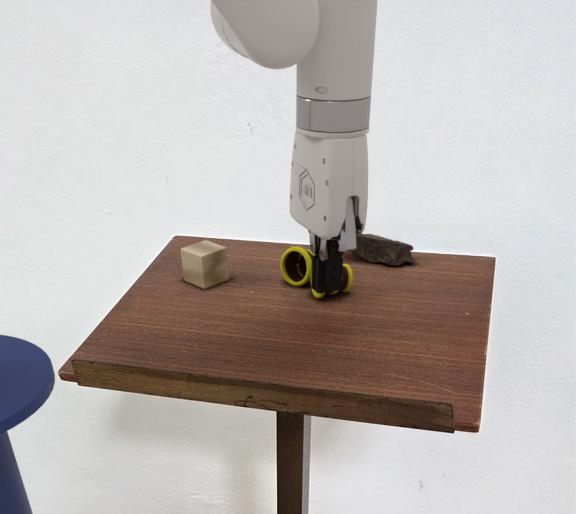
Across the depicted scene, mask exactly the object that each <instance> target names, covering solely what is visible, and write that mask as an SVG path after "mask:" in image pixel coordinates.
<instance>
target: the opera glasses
mask: <svg viewBox="0 0 576 514" xmlns="http://www.w3.org/2000/svg"><path fill="white" fill-rule="evenodd" d="M312 255H315V254H312V253H311V251H310V249H306V248H303V247H300V246H297V245H296V246H291V247H289V248H287V249H286V250H284V252H283V253H282V255H281V257H280V262H279V263H280V265H279V267H280V272H281V275H282V277H283V278H284V280H285V282H287V283H288V284H290V285H291V286H294V287H302V286H304V285H305V284H307V283H308V282H311V271H312ZM353 280H354V274H353V270H352V267H351V266H350V265H349V264H348V263H343V270H342V287H341V289H340V290H338V291H333V292H327V293H322V294H318V293H317V292H316V291H315V290H313V289H312V288H311V287H310V288H311V292H312V295H313V296H314V298H316V299H322V298H323V297H324V296H325V295H335V294H337V293H341V292H342V293H347V292H349V291H350V290H351V288H352V285H353Z"/></svg>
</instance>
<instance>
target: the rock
mask: <svg viewBox="0 0 576 514" xmlns="http://www.w3.org/2000/svg"><path fill="white" fill-rule="evenodd" d="M356 246H357V247H356V250H355V251H351V252H350V253H351V254H353V256H355V257H357V258H360V259H362V260H364V261H366V262H368V263H371V264H372V263H373V264H374V263H383V264H387V265H390V266H400V265H403V264H404V263H408V264H414V263H415V261H416V259H415V258H414V257H413V254H412V252H411V251H413V250H414V246H413V245H412V244H409V243H405V242H402V241H399V240H395V239H391V238H387V237H384V236H381V235H377V234H373V233H362V234H360V235H356Z"/></svg>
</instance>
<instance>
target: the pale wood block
mask: <svg viewBox="0 0 576 514" xmlns="http://www.w3.org/2000/svg"><path fill="white" fill-rule="evenodd" d="M180 257H181V266H182V275H183V281H184V282H187V283H189V284H191V285H193V286H196V287H199V288H201V289H203V290H207V289H208V288H211V287H214V286H215V285H219V284H222V283H223V282H226V281H229V280H230V275H229V259H228V248H227V246H223V245H221V244H218V243H215V242H212V241H209V240H207V239H205V240H202V241H199V242H196V243H193V244H190V245H187V246H185V247H181V248H180Z"/></svg>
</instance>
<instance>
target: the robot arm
mask: <svg viewBox="0 0 576 514" xmlns="http://www.w3.org/2000/svg"><path fill="white" fill-rule="evenodd" d="M209 5H210V7H209V9H210V19H211V22H212V25H213V27H214V30H215V32H216V34H217V36H218V38H219V39H220V40H221V41H222V42H223V43H224V45H225V46H226V47H228V48H229V49H230V50H232V51H233V52H234V53H236V54H238V55H239V56H242V57H243V58H244V59H248V60H250V61H252V62H253V63H254V64H257V65H258V66H260V67H263V68H266V69H270V70H284V69H287V68H291V67H293V66H295V65H296V77H295V78H296V82H295V83H296V85H295V87H296V94H295V133H294V139H293V145H292V154H291V166H290V181H289V182H290V183H289V184H290V185H289V214H290V216H291V218H292V219H293V220H294V222H296V223H298V224H299V225H300V226H302V227H303V228H304V229H306V230H307V231H308V234H309V250H310V251H311V253H312V254H315V255H312V271H311V280H310V288H312V289H313V290H315V291H316V292H317V293H318V294H322V293H327V292H333V291H338V290H340V289H341V287H342V270H343V264H344V258H345V257H346V256H347V253H351V251H355V250H356V247H357V246H356V235H360V234H364V231H365V228H366V224H367V216H368V215H367V214H368V200H369V151H368V135H367V134H369V132H370V121H371V120H370V119H371V104H372V89H373V88H372V87H373V74H374V59H375V58H374V57H375V43H376V31H377V29H376V28H377V15H378V13H377V12H378V0H210V4H209ZM312 289H311V290H312Z"/></svg>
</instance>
